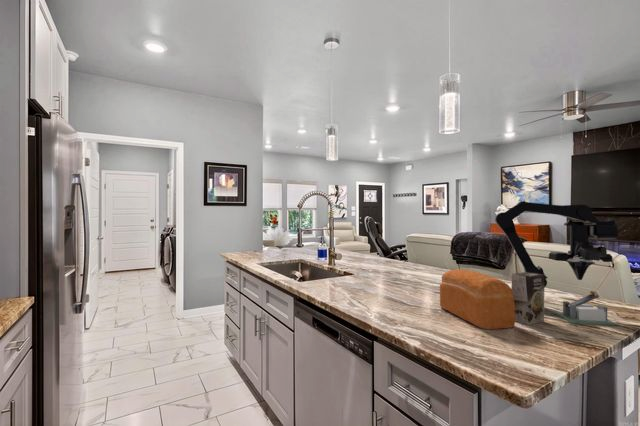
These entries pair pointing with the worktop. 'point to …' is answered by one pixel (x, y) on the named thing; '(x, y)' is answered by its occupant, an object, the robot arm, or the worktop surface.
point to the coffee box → (528, 297)
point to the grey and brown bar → (584, 299)
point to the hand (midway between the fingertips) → (579, 279)
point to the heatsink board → (573, 315)
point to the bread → (478, 299)
